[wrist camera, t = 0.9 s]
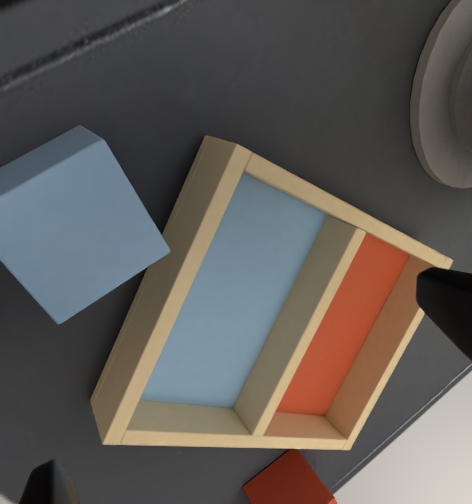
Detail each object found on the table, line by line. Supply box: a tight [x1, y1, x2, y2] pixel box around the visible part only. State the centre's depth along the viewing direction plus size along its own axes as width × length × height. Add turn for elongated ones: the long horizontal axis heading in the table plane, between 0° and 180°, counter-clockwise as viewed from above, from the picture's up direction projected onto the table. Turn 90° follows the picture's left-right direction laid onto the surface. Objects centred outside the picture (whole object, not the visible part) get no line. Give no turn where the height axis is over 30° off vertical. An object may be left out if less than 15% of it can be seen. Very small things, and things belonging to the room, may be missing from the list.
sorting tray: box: [90, 135, 453, 450], centre depth 23 cm, size 14×17×3 cm
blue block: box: [0, 125, 170, 325], centre depth 15 cm, size 4×4×4 cm
